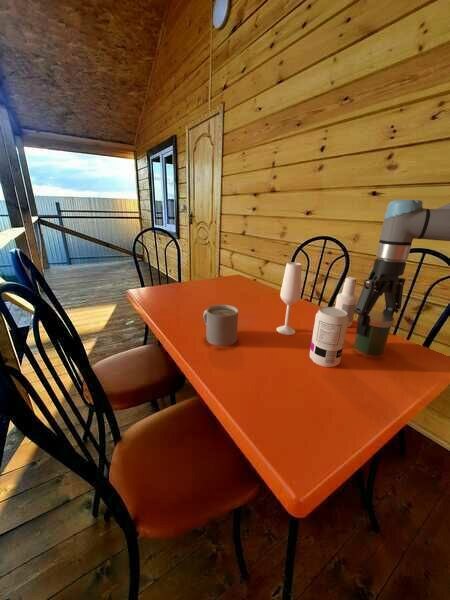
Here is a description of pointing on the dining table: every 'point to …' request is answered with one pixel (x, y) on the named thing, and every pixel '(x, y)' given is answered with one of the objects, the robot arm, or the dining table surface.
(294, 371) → the dining table surface
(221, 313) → the coffee mug
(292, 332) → the champagne flute
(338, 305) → the spray bottle
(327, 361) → the supplement can
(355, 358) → the dining table surface
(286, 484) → the dining table surface
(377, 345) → the jam jar
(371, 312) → the jar lid
